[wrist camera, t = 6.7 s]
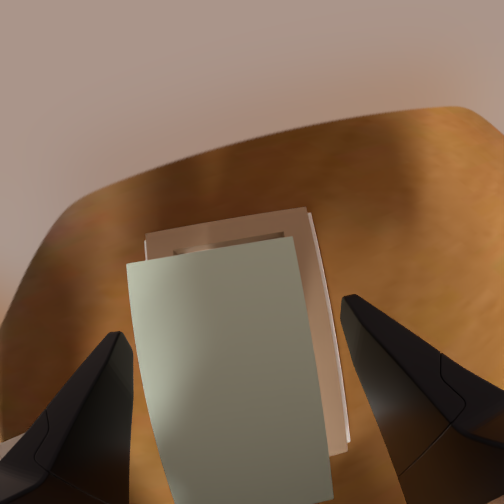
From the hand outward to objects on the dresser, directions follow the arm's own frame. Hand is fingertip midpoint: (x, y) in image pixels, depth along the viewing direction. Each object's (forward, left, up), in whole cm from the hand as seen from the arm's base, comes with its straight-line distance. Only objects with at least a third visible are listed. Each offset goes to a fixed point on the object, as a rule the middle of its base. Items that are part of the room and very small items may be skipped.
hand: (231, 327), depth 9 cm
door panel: (-1, +1, -8) cm, 8 cm away
